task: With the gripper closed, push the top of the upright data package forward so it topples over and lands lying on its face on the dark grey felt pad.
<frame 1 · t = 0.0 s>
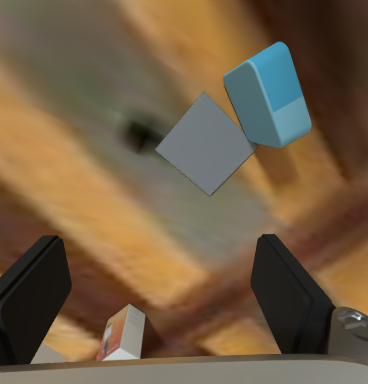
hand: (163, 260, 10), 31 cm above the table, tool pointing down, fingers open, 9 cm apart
felt pad: (206, 148, 40), on the table
small box: (127, 316, 54), on the table
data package: (246, 104, 38), on the table, touching felt pad
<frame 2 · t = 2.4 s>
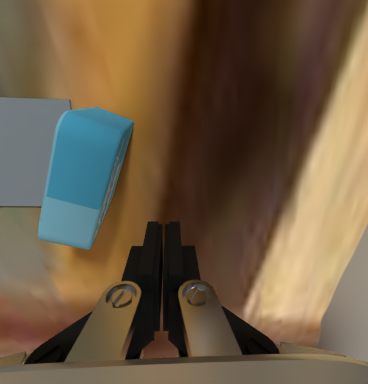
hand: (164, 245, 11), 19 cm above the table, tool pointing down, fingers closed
felt pad: (27, 156, 28), on the table
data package: (105, 157, 28), on the table, touching felt pad
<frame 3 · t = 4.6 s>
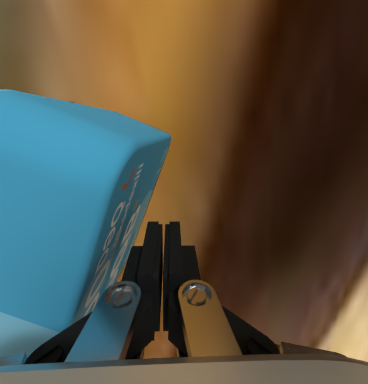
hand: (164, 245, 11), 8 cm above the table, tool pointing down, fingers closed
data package: (125, 190, 19), on the table, touching felt pad, gripper
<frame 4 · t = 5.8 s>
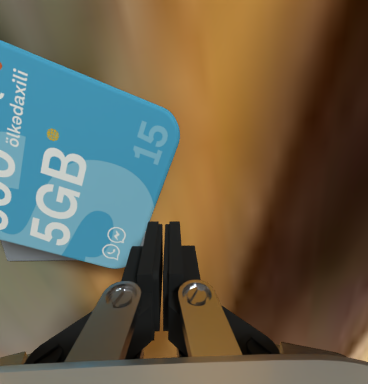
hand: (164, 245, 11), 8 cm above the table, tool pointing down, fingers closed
felt pad: (67, 191, 19), on the table
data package: (159, 195, 16), point 3 cm above the table, touching felt pad
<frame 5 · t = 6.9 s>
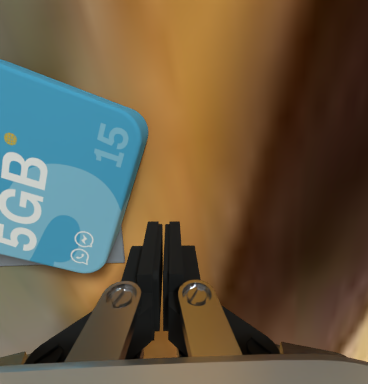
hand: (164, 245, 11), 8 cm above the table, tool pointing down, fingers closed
felt pad: (41, 195, 18), on the table
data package: (130, 198, 16), point 3 cm above the table, touching felt pad
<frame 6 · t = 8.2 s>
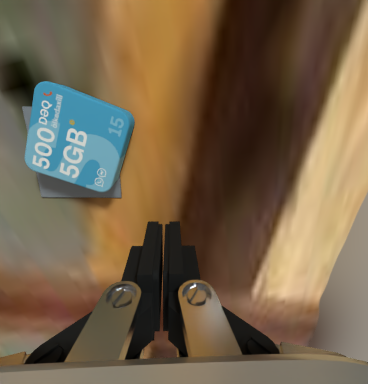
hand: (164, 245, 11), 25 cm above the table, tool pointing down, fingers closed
felt pad: (76, 155, 34), on the table
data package: (124, 155, 32), point 3 cm above the table, touching felt pad
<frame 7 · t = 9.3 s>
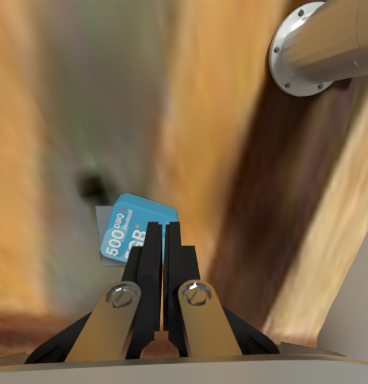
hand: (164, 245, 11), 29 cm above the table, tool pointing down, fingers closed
felt pad: (131, 237, 44), on the table
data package: (170, 241, 42), point 3 cm above the table, touching felt pad
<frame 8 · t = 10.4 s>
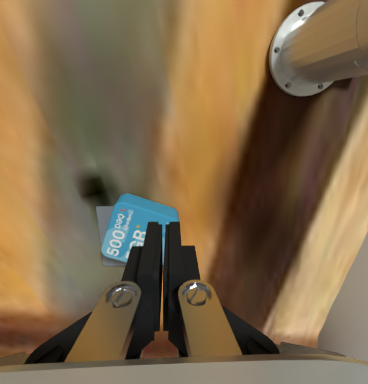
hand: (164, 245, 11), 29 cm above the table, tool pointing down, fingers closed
felt pad: (132, 237, 45), on the table
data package: (171, 241, 42), point 3 cm above the table, touching felt pad
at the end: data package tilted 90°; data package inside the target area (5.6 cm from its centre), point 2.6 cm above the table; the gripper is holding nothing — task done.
